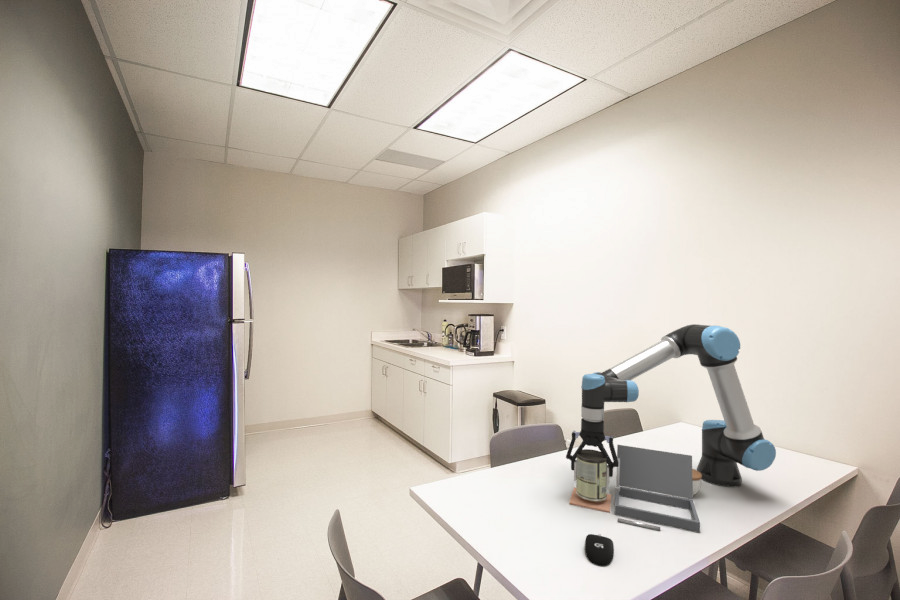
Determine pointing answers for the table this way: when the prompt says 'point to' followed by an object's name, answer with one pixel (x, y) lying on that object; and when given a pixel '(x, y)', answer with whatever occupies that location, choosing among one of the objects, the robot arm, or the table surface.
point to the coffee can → (591, 475)
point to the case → (656, 485)
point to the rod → (638, 524)
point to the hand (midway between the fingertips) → (591, 482)
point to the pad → (591, 502)
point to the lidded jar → (696, 481)
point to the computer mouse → (599, 549)
